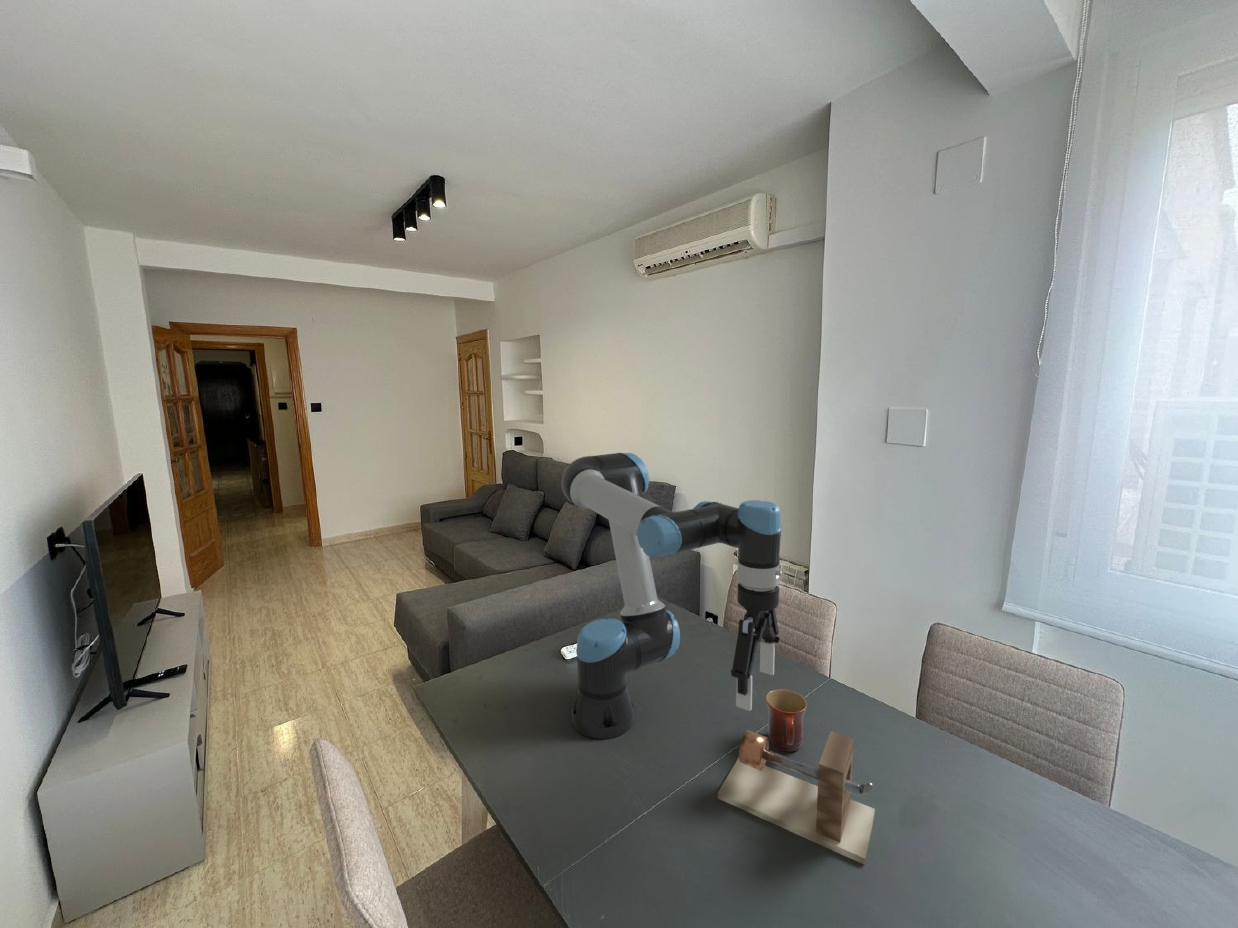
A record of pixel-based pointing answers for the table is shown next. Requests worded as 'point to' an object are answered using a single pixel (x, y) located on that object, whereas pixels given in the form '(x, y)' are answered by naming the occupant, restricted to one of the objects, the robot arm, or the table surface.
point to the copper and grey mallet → (784, 761)
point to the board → (795, 807)
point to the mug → (785, 719)
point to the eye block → (834, 786)
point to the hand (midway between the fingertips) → (756, 689)
